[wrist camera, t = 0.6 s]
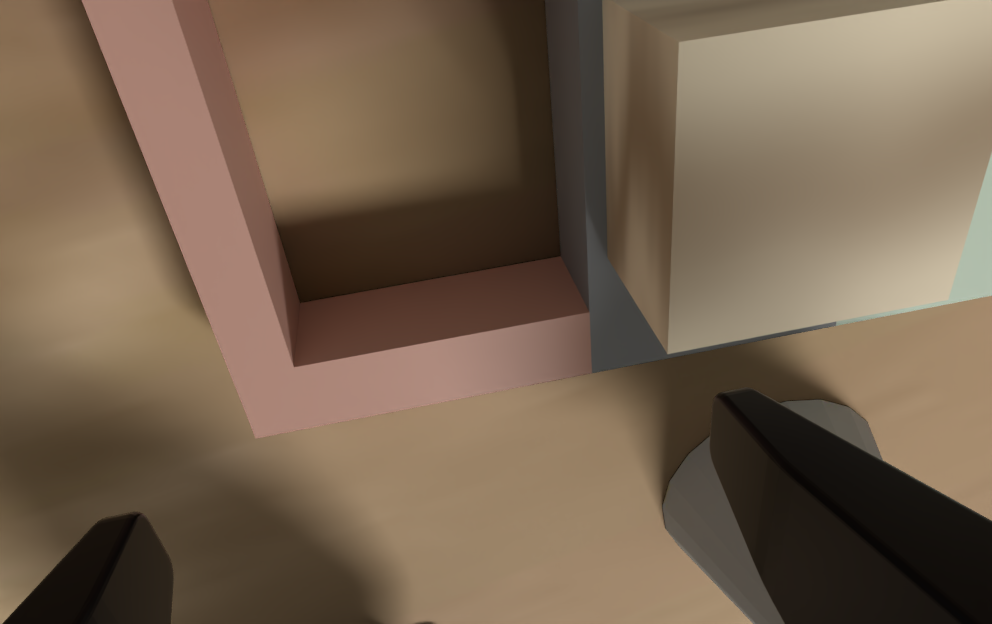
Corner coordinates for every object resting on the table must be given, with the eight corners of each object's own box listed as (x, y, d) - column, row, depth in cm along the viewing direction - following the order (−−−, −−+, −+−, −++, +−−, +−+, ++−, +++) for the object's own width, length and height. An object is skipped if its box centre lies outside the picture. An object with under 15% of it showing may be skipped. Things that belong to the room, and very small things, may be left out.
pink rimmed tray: (1293, 177, 24) (1400, 216, 22) (265, 368, 21) (255, 438, 19) (1577, -340, 17) (1788, -370, 14) (77, -155, 14) (20, -154, 12)
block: (839, 215, 18) (948, 299, 15) (607, 257, 18) (667, 354, 14) (885, -48, 15) (1040, -15, 12) (601, -6, 14) (679, 42, 11)
